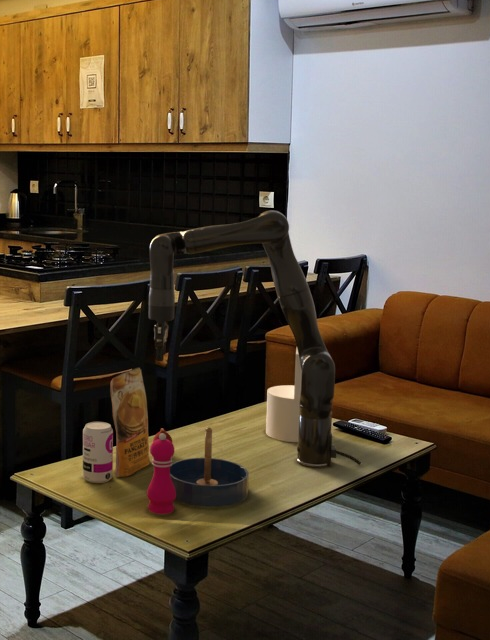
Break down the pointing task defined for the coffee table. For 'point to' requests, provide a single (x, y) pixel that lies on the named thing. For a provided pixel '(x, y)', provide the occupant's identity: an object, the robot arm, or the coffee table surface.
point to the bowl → (223, 494)
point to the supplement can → (97, 452)
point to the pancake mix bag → (130, 422)
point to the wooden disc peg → (207, 460)
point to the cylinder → (284, 408)
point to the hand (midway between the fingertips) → (160, 357)
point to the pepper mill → (161, 477)
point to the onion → (164, 433)
